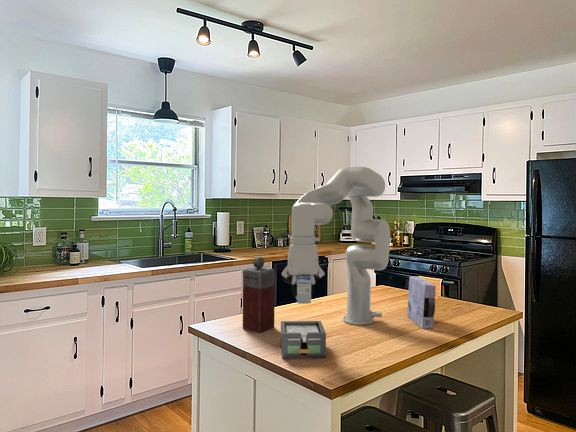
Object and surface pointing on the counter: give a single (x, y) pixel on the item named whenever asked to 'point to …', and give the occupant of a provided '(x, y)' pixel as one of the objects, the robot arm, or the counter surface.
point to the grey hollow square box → (294, 342)
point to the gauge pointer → (303, 350)
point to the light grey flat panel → (301, 330)
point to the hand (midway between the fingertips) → (303, 294)
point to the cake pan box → (421, 302)
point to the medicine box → (303, 289)
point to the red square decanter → (258, 297)
